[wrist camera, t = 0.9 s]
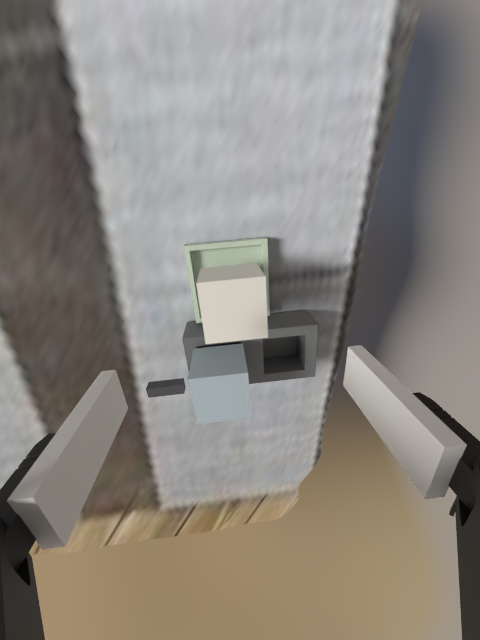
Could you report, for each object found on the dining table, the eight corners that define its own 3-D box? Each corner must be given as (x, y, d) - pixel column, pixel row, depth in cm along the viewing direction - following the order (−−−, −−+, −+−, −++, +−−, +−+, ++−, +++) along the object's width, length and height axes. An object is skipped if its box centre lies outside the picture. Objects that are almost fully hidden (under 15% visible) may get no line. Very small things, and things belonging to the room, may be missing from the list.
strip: (158, 325, 35) (131, 377, 24) (305, 309, 36) (343, 353, 25) (169, 371, 38) (149, 436, 27) (303, 356, 39) (337, 414, 28)
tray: (185, 244, 31) (183, 246, 29) (264, 237, 31) (267, 238, 30) (197, 317, 35) (196, 323, 33) (267, 310, 35) (269, 315, 34)
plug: (203, 259, 31) (196, 283, 21) (250, 255, 31) (265, 276, 21) (209, 304, 34) (205, 344, 23) (253, 300, 34) (268, 337, 24)
